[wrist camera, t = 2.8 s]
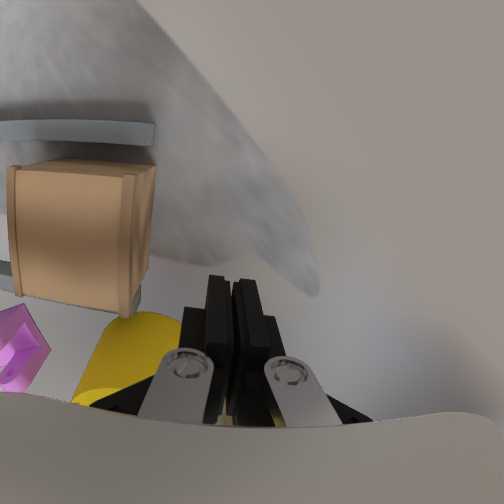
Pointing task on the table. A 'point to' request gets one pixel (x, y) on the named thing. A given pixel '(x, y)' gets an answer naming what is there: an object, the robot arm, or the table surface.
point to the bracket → (20, 348)
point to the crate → (80, 230)
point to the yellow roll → (127, 354)
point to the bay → (74, 131)
